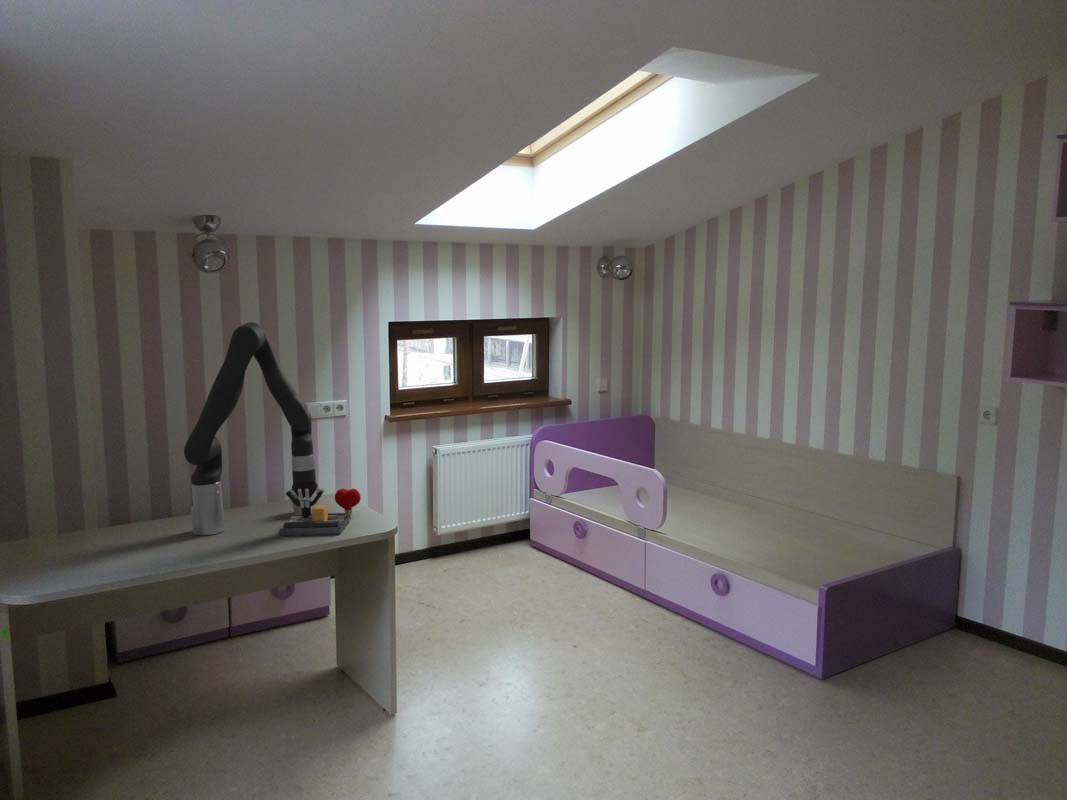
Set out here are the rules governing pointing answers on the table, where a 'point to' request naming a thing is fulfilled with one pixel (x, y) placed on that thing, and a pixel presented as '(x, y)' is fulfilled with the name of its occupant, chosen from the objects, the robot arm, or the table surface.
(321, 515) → the tan cardboard cube
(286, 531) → the panel
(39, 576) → the table surface
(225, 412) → the robot arm
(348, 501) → the red heart figurine
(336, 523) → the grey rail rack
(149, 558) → the table surface
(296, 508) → the flower pot
